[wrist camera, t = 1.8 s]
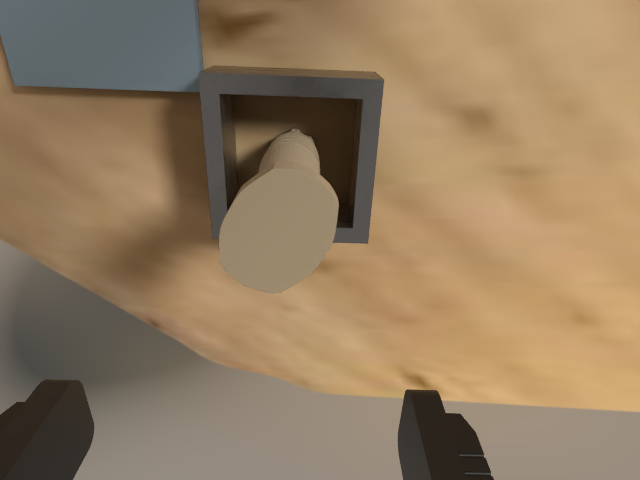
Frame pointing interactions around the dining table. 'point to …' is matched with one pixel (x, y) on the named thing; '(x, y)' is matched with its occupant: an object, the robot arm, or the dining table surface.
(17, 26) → the rubber mat
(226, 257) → the handle
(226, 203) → the socket block
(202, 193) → the dining table surface
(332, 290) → the dining table surface
